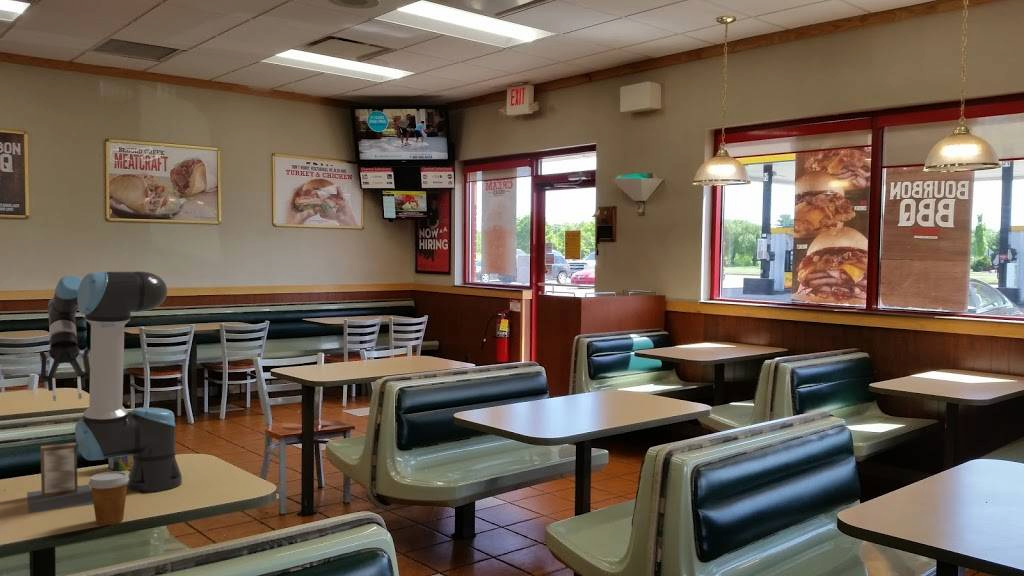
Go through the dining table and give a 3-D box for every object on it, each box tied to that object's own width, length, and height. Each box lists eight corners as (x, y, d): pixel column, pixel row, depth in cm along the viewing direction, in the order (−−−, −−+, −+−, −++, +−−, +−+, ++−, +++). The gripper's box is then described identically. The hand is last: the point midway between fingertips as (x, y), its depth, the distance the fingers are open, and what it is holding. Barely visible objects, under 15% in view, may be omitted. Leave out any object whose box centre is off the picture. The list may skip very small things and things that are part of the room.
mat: (89, 486, 249) (89, 484, 249) (95, 505, 231) (95, 503, 230) (27, 493, 241) (27, 492, 241) (28, 514, 222) (28, 513, 222)
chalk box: (147, 467, 271) (146, 422, 270) (118, 473, 264) (117, 426, 263) (135, 462, 277) (135, 418, 276) (107, 468, 270) (106, 422, 270)
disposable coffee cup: (133, 523, 216) (132, 477, 215) (92, 529, 210) (91, 482, 210) (126, 513, 224) (125, 469, 223) (86, 519, 218) (86, 474, 218)
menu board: (76, 490, 244) (76, 442, 243) (77, 492, 241) (76, 444, 240) (41, 494, 239) (40, 446, 238) (41, 497, 236) (40, 448, 236)
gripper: (96, 343, 271) (102, 401, 257) (28, 347, 261) (30, 407, 248) (97, 329, 266) (103, 387, 253) (28, 331, 256) (30, 392, 243)
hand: (67, 397), depth 250 cm, fingers open, 6 cm apart
